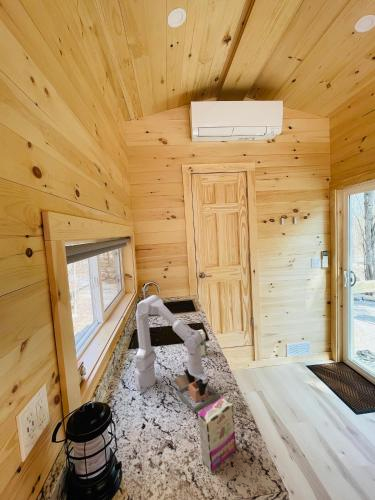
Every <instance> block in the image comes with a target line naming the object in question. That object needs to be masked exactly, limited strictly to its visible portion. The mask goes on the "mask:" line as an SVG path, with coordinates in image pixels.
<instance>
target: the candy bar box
mask: <svg viewBox="0 0 375 500" xmlns="http://www.w3.org/2000/svg"><path fill="white" fill-rule="evenodd" d="M197 418H198V419H197V420H198V428H199V438H200V439H199V440H200V449H201V450H200V451H201V460H202V462H203V463H204V464H205V466H206V467H207V468H208V469H209V471H210V472H213V471H214V470H215V469H216V468H217V467H219V466H220V465H221V464H222V463H223V462H224V461H225V460H226V459H228V457H230V456H231V455H232V454H233V453H234V452H235V451H236V450H237V445H236V443H237V442H236V432H235V431H236V430H235V421H234V420H235V419H234V418H235V417H234V409H233V403H232V402H230V401H229V400H227V399H226V398H225V397H223V396H221V397H220V398H218V399H216V400H215V401H213V402H212V404H210V405H209V406H207V407H206V408H204V409H203V410H201V411H200V412H199V413H197Z"/></svg>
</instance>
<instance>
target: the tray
mask: <svg viewBox="0 0 375 500" xmlns="http://www.w3.org/2000/svg"><path fill="white" fill-rule="evenodd" d="M197 379H198V380H200V379H199V378H197ZM196 381H197V380H196ZM206 389H207V390H209V391H210V392H211V393H212V394H213V396H211V397H210V398H208V399H206V400H204V401H202V402H201V403H199V404H197V405H195V406H193V405H192V404H191V403H190V401H189V400H188V399H187V398H186V397H185V396H184V394H182V392H185V391H186V390H189V386H188V385H186V386H184V387H182V388H178V389H177V390H176V391H175V393H176V395H177V396H178V397H179V399H181V400H182V401H183V402H184V404H185V405H186V406H187V407H188V409H190V411H191V412H192V413H195V412H198V411H199V410H200V409H203V408H205V407H206V406H207V405H209V404H211V403H214V402H215V401H217V400H219V399H220V398H221V395H220V393H219V392H218V391H216V390H215V389H214V388H213V387H212V386H211V385H210V384H209V383H208V384H207V386H206Z"/></svg>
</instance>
